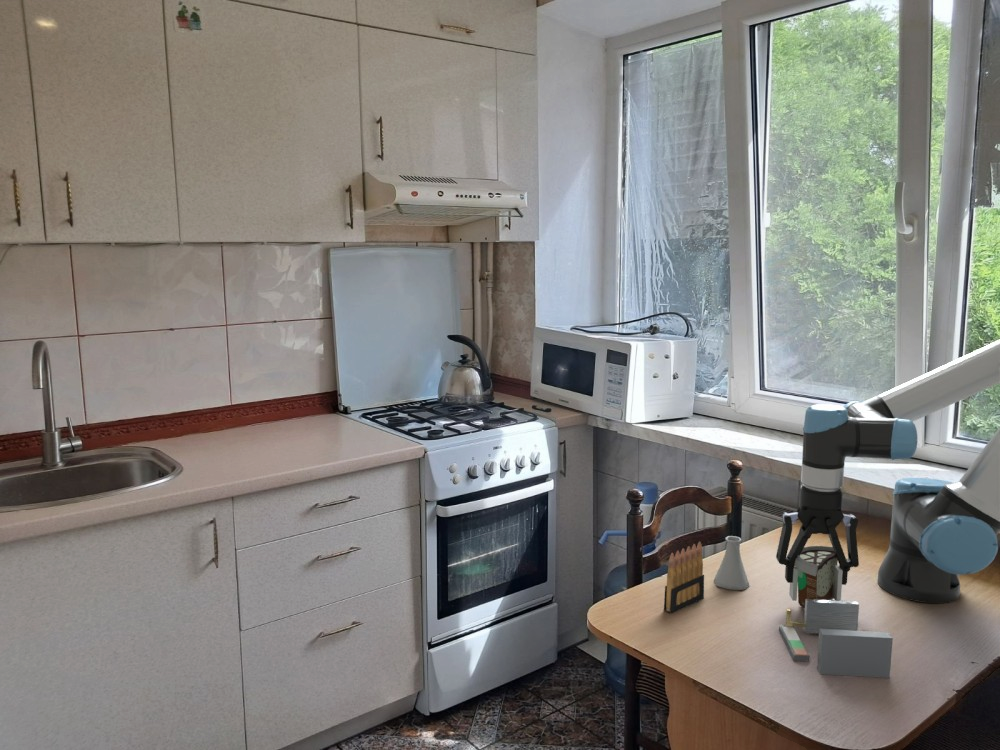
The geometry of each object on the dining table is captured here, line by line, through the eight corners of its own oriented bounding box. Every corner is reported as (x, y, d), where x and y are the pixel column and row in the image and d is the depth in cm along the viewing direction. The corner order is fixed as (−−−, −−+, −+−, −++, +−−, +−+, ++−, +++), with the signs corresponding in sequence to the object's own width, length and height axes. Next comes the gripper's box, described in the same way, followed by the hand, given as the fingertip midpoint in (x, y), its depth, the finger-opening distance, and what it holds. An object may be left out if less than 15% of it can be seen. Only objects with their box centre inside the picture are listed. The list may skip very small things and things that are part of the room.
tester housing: (859, 634, 146) (862, 598, 145) (889, 677, 132) (892, 638, 130) (778, 630, 148) (780, 594, 147) (799, 672, 133) (802, 633, 132)
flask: (711, 588, 166) (713, 542, 164) (716, 574, 173) (717, 530, 171) (747, 593, 163) (750, 547, 162) (750, 579, 170) (753, 535, 168)
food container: (805, 587, 163) (808, 540, 162) (836, 595, 159) (839, 547, 158) (781, 607, 154) (783, 557, 153) (813, 616, 150) (816, 565, 149)
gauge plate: (854, 632, 146) (857, 601, 145) (856, 635, 145) (859, 604, 144) (785, 628, 147) (786, 598, 146) (786, 631, 146) (788, 601, 145)
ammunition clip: (671, 614, 154) (673, 555, 152) (663, 611, 156) (665, 552, 154) (704, 598, 161) (706, 541, 159) (696, 595, 163) (698, 539, 161)
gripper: (870, 481, 155) (862, 592, 159) (762, 478, 157) (757, 588, 161) (884, 493, 148) (875, 609, 152) (770, 490, 150) (764, 604, 154)
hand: (814, 598), depth 156 cm, fingers closed on food container, 7 cm apart
